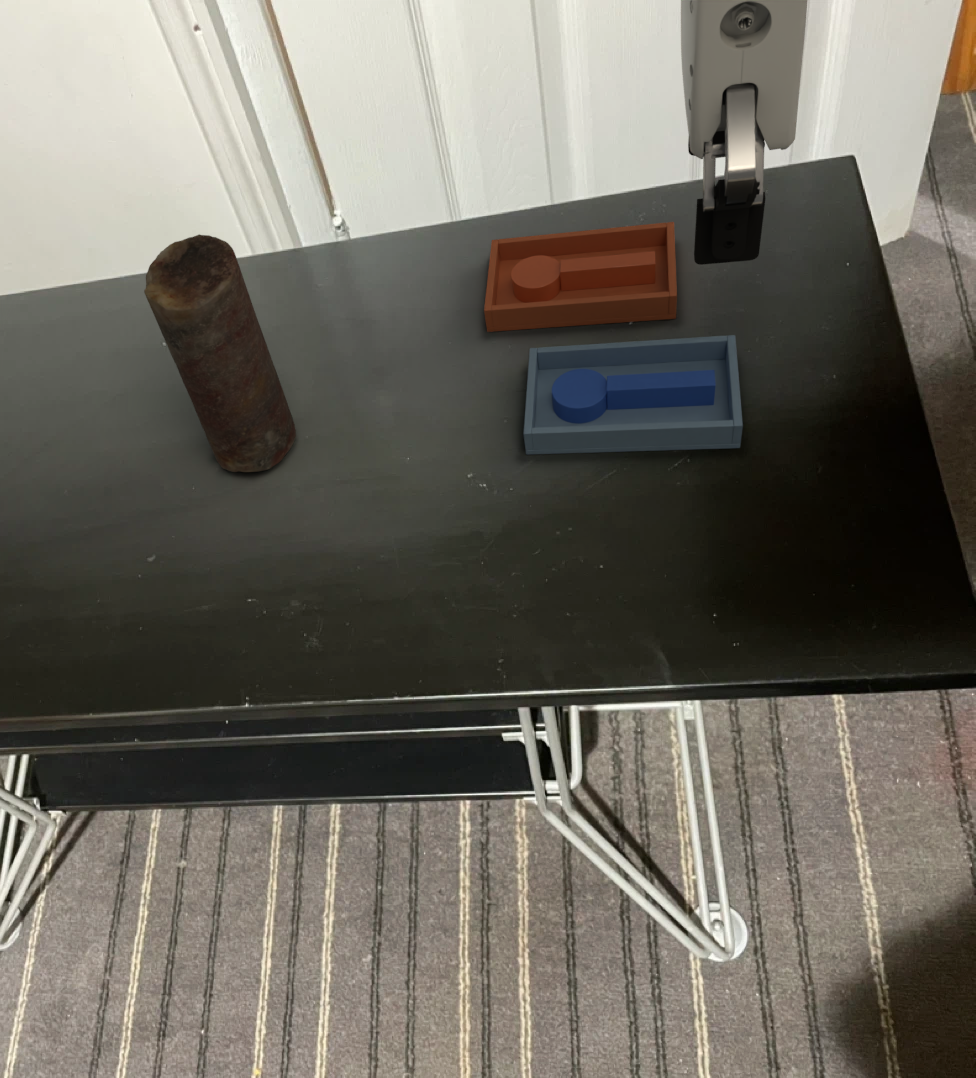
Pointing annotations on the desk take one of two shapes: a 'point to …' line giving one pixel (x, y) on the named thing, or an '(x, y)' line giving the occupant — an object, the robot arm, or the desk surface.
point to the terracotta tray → (585, 303)
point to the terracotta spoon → (579, 274)
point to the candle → (220, 352)
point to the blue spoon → (628, 392)
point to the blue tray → (639, 425)
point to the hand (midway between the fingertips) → (721, 202)
